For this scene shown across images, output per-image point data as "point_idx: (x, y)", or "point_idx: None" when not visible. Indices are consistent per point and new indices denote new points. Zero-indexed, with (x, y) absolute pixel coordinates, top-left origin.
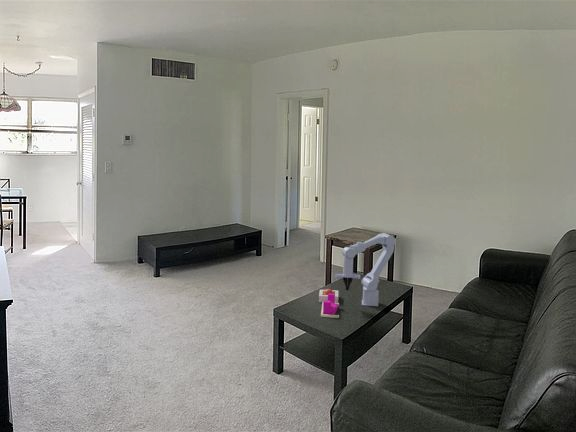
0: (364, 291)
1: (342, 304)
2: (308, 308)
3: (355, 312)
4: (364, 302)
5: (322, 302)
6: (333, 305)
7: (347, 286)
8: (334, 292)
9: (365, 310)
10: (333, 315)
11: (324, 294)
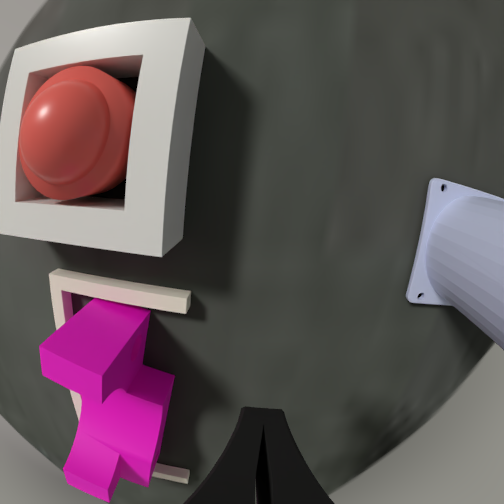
0: (498, 333)
1: (224, 273)
2: (9, 339)
3: (307, 424)
4: (436, 288)
5: (50, 279)
6: (134, 408)
7: (263, 456)
8: (141, 59)
9: (391, 387)
10: (156, 476)
11: (31, 177)
